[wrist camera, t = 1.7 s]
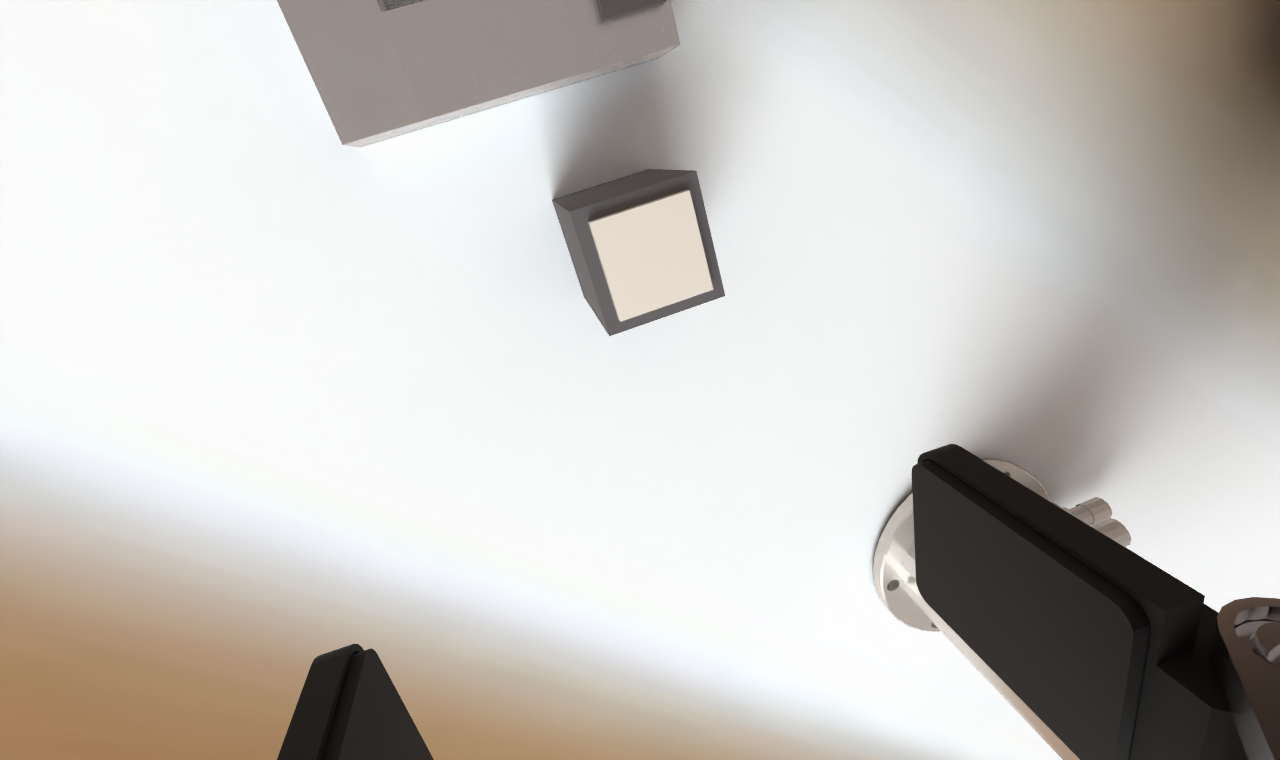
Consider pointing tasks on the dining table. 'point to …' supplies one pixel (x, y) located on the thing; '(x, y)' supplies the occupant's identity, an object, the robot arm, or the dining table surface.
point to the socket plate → (462, 54)
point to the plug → (641, 247)
